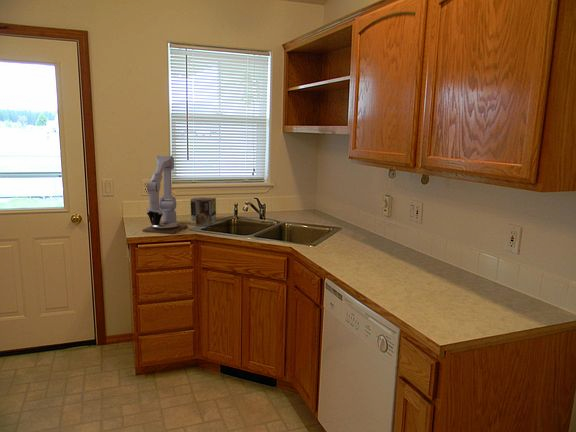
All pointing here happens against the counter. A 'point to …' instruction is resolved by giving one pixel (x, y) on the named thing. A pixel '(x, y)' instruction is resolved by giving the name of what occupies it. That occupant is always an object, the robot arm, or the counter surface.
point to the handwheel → (165, 224)
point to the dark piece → (193, 207)
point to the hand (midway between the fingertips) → (155, 224)
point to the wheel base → (166, 231)
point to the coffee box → (203, 213)
